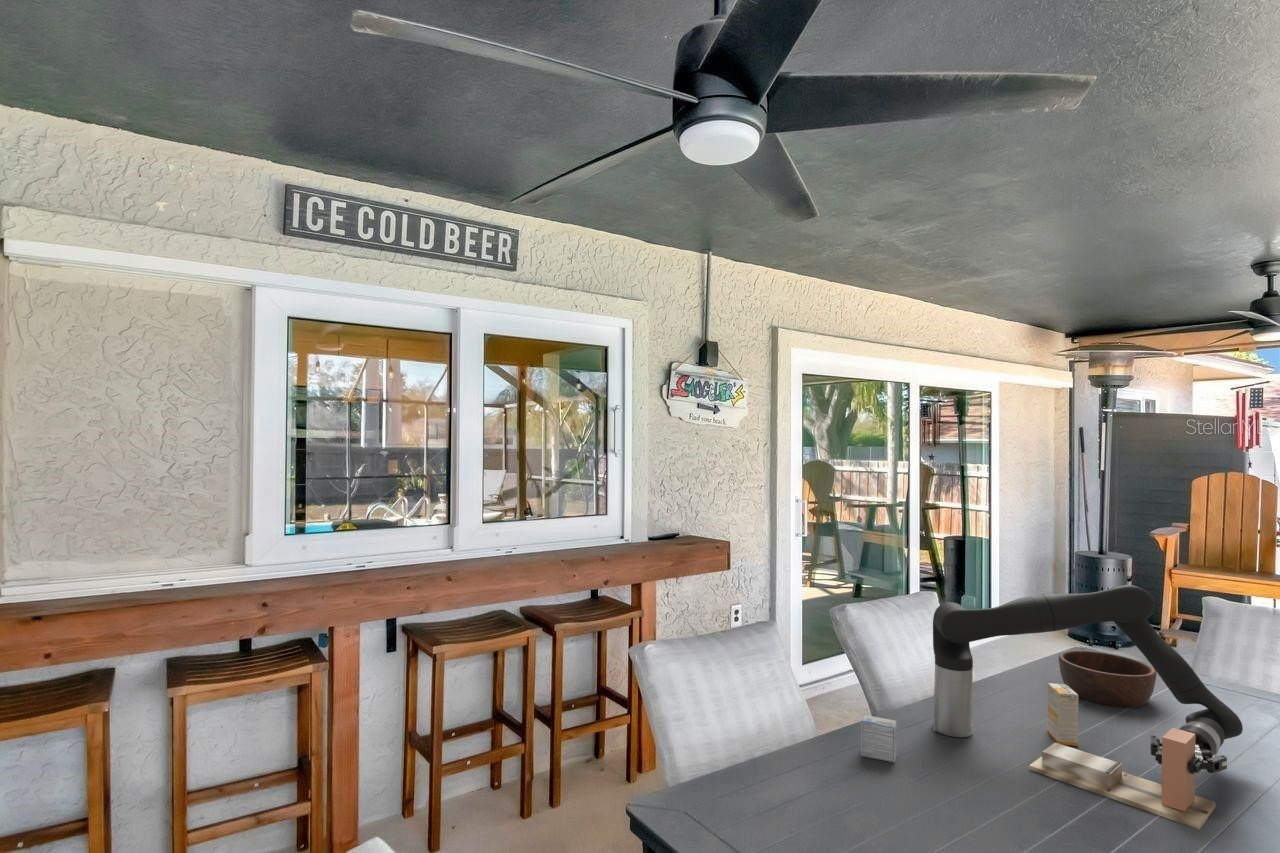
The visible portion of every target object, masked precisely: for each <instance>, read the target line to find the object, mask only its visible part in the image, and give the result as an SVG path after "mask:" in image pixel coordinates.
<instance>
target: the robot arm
mask: <svg viewBox="0 0 1280 853" xmlns="http://www.w3.org/2000/svg"><path fill="white" fill-rule="evenodd" d="M1155 605H1156V604H1155V600H1154V598H1153V596H1152V595H1151V594H1150V592H1148V591H1147V590H1145V589H1144V588H1142V587H1139V586H1136V585H1133V584H1124V585H1118V586H1113V587H1110V588H1108V589H1106V590H1105V589H1104V590H1100V591H1095V592H1094V591H1093V592H1086V593H1053V594H1050V593H1049V594H1039V595H1032V596H1023V597H1020V598H1017V599H1014V600H1011V601H1008V602H1006V603H1003V604H1001V605H998V606H994V607H989V608H975V609H974V608H972V609H967V608H966V607H963V606H962V604H959V603H957V602H949V601H947V602H944V603H942V604H940V605H939V606H937V608H936V609H935V611H934V613H933V618H932V650H933V653H934V690H933V692H934V693H933V723H932V725H933V726H932V728H933V729H932V730H933V732H938V733H940V734H942V735H944V736H948V737H953V738H968V737H970V736H971V735H972V734H973V733H972V732H973V724H972V723H973V675H974V674H973V672H974V671H973V668H974V665H973V664H974V660H973V654H972V652H971V648H970V647H971V646H970V643H972V642H976V641H981V640H984V639H985V640H986V639H991V638H995V637H1002V636H1003V637H1004V636H1017V635H1018V636H1019V635H1027V634H1028V635H1029V634H1040V633H1051V632H1057V631H1062V630H1063V631H1064V630H1068V629H1074V628H1077V627H1082V626H1083V627H1084V626H1086V625H1087V626H1088V625H1091V624H1097V623H1098V624H1099V623H1106V622H1107V623H1109V622H1110V623H1111V622H1113V623H1114V624H1115V625H1116V626H1117V627H1118V628H1119V629H1120V630H1121V631H1122V632H1123V633H1124V635H1126V637H1128V638H1129V640H1130V641H1131V642H1132V643H1133V644H1134V645H1135V646H1136V648H1138V651H1140V653H1141V654H1142V655H1143V656H1144V657H1145V659H1146V660H1147V661H1148V662H1149V663H1150V664H1149V665H1150V666H1151V667H1153V668H1154V669H1155V670H1156V673H1157V674H1158V676H1159V677H1160V679H1161V680H1162V682H1163V683H1164V684H1165V686H1166V687H1167V688H1168V689H1169V691H1170V692H1171V694H1172V695H1173V697H1174V699H1176V700H1177V702H1178V703H1180V704H1183V705H1201V706H1203V707H1205V709H1202V710H1197V711H1194V712H1191V713H1190V714H1188V715H1186V716H1185V724H1183V725H1182V726H1180V728H1179V729H1180V730H1183V731H1187V732H1191V733H1194V734H1196V736H1195V752H1194V758H1193V759H1192V761H1191V762H1190V763H1189V773H1191V774H1194V773H1195V774H1199V773H1200V772H1203V771H1204V770H1206V772H1207V773H1209V774H1215V773H1219V772H1221V771H1225V770H1227V769H1228V758H1227V757H1228V756H1226V755H1224V754H1220V755H1218V753H1219V751H1220V748H1221V747H1222V746H1223V744H1224V743H1225V740H1227V739H1233V738H1235V737H1238V736H1240V735H1241V734H1242V733H1243V729H1244V728H1243V727H1244V726H1243V722H1242V721H1241V719H1240V718H1239V716H1238V714H1236V713H1235V712H1234V711H1233V710H1232V708H1230V707H1229V706H1228V705H1226V704H1225V703H1224V702H1223V701H1222V700H1221V699H1220V698H1218V697H1217V696H1216V695H1215V694H1214V693H1213V692H1211V690H1209V689H1208V688H1207V687H1206V685H1205V684H1204V683H1203V682H1202V680H1201V679H1200V677H1199V676H1198V675H1197V673H1196V672H1195V671H1194V669H1193V668H1192V667H1191V665H1190V664H1189V663H1188V661H1186V660H1185V658H1183V657H1182V656H1181V654H1180V653H1178V652H1177V651H1176V650H1175V649H1174V648H1173V647H1172V646H1171V645H1170V644H1169V643H1168V642H1166V641H1165V639H1164V638H1162V637H1161V635H1160V634H1159V633H1158V632H1157V631H1156V630H1155V628H1153V626H1152V624H1151V623H1150V622H1149V620H1148V618H1149V617H1150V616H1151V615H1152V614H1153V612H1154V610H1155V607H1156V606H1155ZM1150 755H1151V756H1153V757H1155V758H1154V760H1155V761H1157V764H1159V765H1162V740H1160V738H1158V737H1157V736H1156V735H1150Z"/></svg>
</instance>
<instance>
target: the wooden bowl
mask: <svg viewBox="0 0 1280 853" xmlns="http://www.w3.org/2000/svg"><path fill="white" fill-rule="evenodd" d="M1058 666H1059V670H1060V671H1059V672H1060V675H1061V678H1062V682H1063V683H1064V684H1065V685H1067V686H1068V687H1070V688H1071V689H1072V690H1073V691H1074V692H1075V693H1077V694H1078V698H1080V699H1084V700H1086V701H1089V702H1092V703H1096V704H1099V705H1100V704H1101V705H1105V706H1109V707H1117V708H1118V707H1119V708H1138V707H1141V706H1144V705H1145V704H1147V702H1148V701H1149V700H1150V698H1152V694H1153V693H1154V690H1155V686H1156V680H1157V674H1158V673H1157V672H1156V670H1155V669H1154V668H1153V666H1152V665H1151V664H1147V663H1146V662H1143V661H1141V660H1138V659H1135V658H1132V657H1128V656H1124V655H1119V654H1116V653H1110V652H1109V653H1108V652H1103V651H1095V650H1083V649H1081V650H1080V649H1079V650H1073V649H1072V650H1066V651H1062V652H1061V653H1059V655H1058Z"/></svg>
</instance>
